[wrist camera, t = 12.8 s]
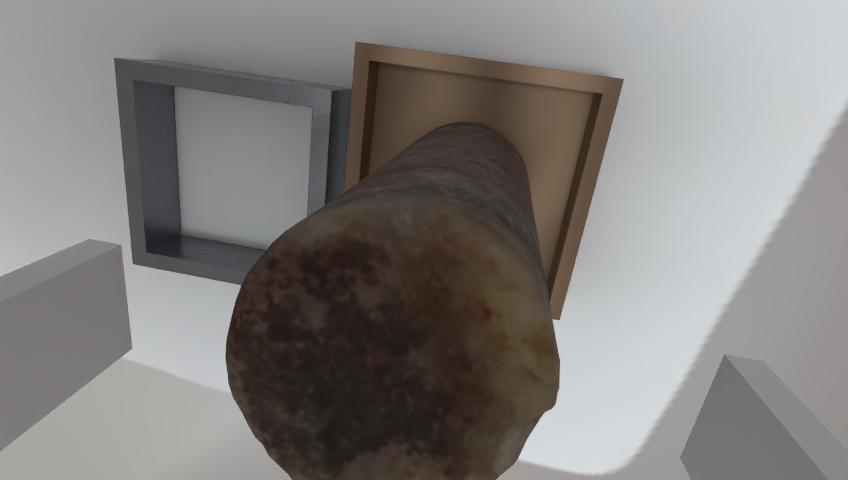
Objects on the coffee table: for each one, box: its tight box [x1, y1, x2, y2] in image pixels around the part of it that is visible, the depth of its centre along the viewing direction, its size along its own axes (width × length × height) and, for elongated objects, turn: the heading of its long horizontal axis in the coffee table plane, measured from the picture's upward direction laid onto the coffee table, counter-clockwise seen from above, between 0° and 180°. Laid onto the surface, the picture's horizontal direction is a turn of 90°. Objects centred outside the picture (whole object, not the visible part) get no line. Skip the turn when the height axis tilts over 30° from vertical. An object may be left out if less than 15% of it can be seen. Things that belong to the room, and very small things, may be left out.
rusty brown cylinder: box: [226, 122, 560, 480], centre depth 19 cm, size 8×7×20 cm
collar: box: [114, 58, 351, 285], centre depth 29 cm, size 12×12×4 cm
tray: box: [344, 42, 624, 320], centre depth 27 cm, size 14×14×3 cm
